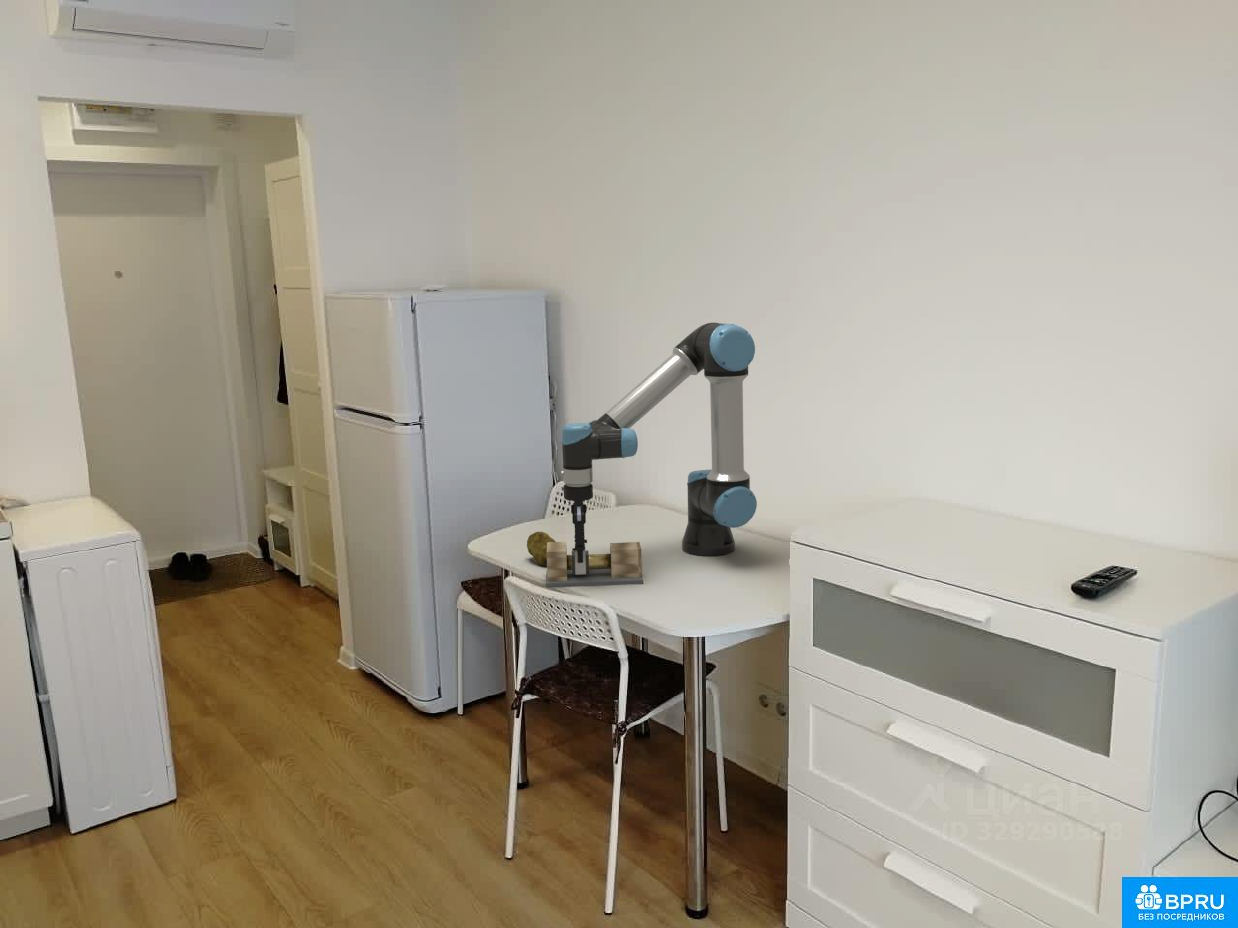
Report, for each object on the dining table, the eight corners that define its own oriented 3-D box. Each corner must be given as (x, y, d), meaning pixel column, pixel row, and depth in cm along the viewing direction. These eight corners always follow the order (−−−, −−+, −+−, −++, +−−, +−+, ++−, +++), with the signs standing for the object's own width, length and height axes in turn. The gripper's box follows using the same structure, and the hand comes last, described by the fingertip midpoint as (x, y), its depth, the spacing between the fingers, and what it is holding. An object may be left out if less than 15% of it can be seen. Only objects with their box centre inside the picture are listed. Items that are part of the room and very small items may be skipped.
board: (640, 569, 262) (639, 566, 262) (643, 583, 250) (643, 580, 250) (546, 573, 261) (546, 569, 261) (545, 587, 249) (545, 583, 249)
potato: (534, 570, 263) (533, 541, 262) (525, 557, 276) (524, 530, 274) (564, 567, 266) (563, 539, 264) (554, 554, 278) (553, 527, 276)
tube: (618, 567, 258) (617, 549, 257) (619, 572, 253) (618, 554, 252) (553, 569, 257) (553, 551, 256) (553, 574, 253) (553, 556, 252)
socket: (567, 570, 259) (566, 541, 258) (567, 580, 251) (566, 551, 249) (548, 571, 259) (547, 542, 258) (547, 581, 250) (546, 551, 249)
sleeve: (639, 569, 259) (639, 541, 258) (641, 577, 252) (641, 549, 251) (610, 570, 259) (609, 542, 258) (611, 578, 252) (611, 550, 251)
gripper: (563, 477, 259) (566, 561, 263) (563, 491, 242) (566, 581, 246) (591, 476, 259) (594, 560, 264) (593, 490, 242) (595, 580, 247)
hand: (580, 570), depth 255 cm, fingers closed on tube, 4 cm apart
